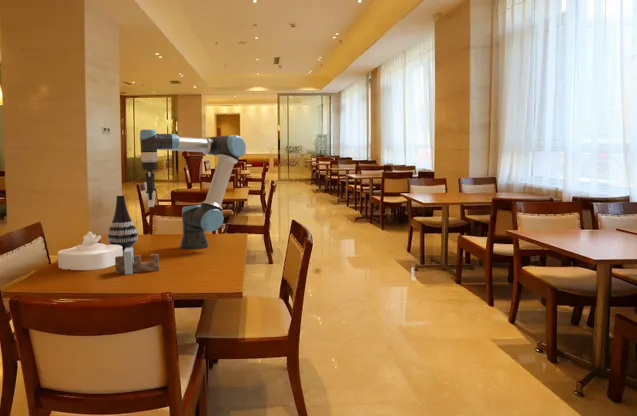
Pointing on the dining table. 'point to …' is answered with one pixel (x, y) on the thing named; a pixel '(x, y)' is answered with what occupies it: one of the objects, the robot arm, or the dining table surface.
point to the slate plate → (128, 260)
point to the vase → (122, 226)
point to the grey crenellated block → (138, 264)
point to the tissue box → (89, 255)
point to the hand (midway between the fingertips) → (151, 205)
